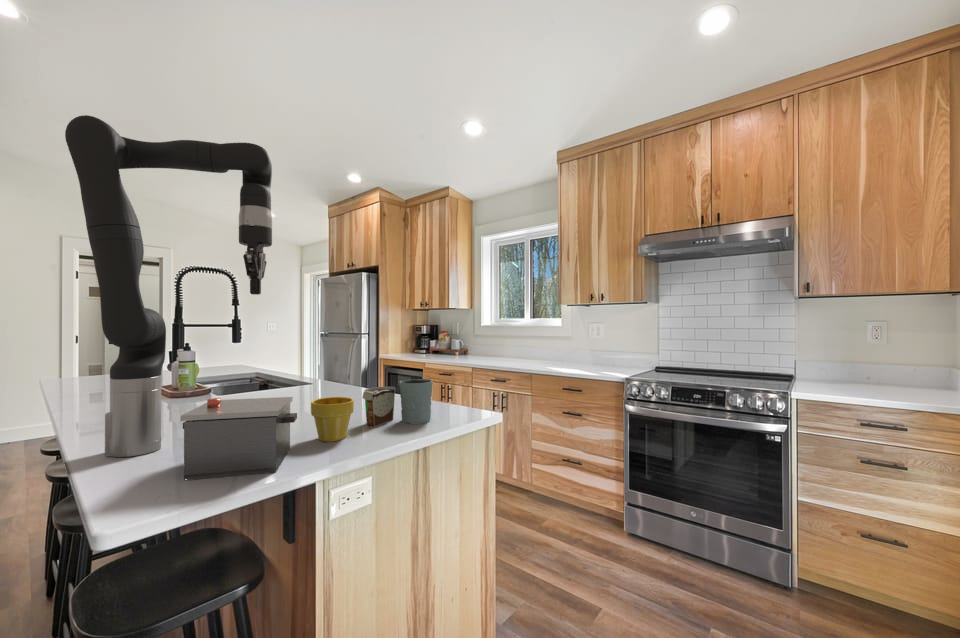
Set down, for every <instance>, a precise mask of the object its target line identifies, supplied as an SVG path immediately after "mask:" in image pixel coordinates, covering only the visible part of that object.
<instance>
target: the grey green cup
mask: <svg viewBox="0 0 960 638" xmlns="http://www.w3.org/2000/svg"><path fill="white" fill-rule="evenodd" d="M398 385H399V390H400V391H399V393H400V404H401V405H400V406H401V407H400V408H401V414H400V415H401V422H402V421H403V422H402V423H404V424H408V423H410V424H409V425H417V424H418V425H420V424H426V423H429V422H430V421H431V417H432V415H431V413H432V408H431V406H432V396H433V380H432V379H427V378H413V379H412V378H411V379H409V378H408V379H403V380H400V381H399V384H398Z"/></svg>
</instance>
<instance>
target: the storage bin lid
mask: <svg viewBox="0 0 960 638" xmlns="http://www.w3.org/2000/svg"><path fill="white" fill-rule="evenodd" d="M206 401H207V402H205V403H204V404H201V405H200V406H197V407H195V408H193V409H191V410H189V411H186V412H185V413H183V414H181V415H180V421H179V422H185V421H191V420H209V419H228V418H246V417H265V416H279V415H280V414H281V413H282V412H283V411H284V410H285V409H286V407H287V406H288V405H289V404H290V405H291V403H292V402H293V401H294V400H293V396H284V397H283V396H282V397H281V396H279V397H261V398H260V397H257V398H254V397H253V398H238V399H237V398H235V399H233V398H232V399H221V398H220V397H218V398H217V397H215V398H208V399H207V400H206Z"/></svg>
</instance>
